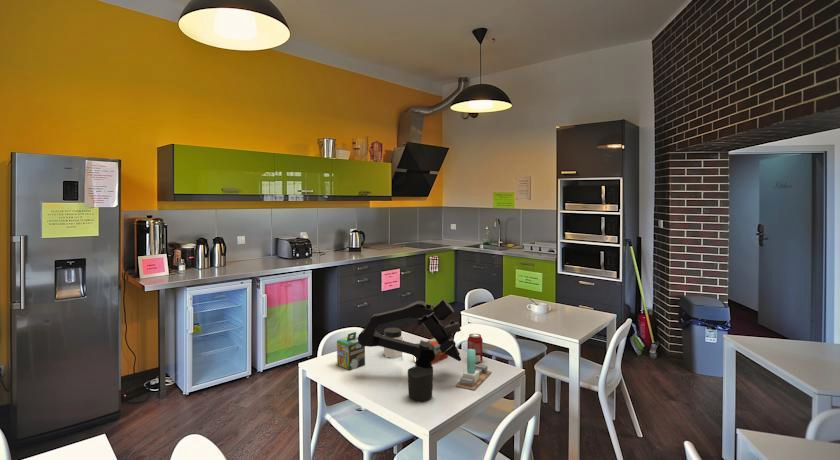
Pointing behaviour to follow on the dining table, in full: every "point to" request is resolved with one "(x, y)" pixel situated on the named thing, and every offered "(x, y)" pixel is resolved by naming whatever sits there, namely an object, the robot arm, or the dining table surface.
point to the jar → (397, 335)
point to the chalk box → (350, 352)
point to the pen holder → (420, 384)
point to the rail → (469, 382)
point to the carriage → (471, 366)
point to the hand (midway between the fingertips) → (459, 357)
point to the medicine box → (437, 351)
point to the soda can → (476, 346)
